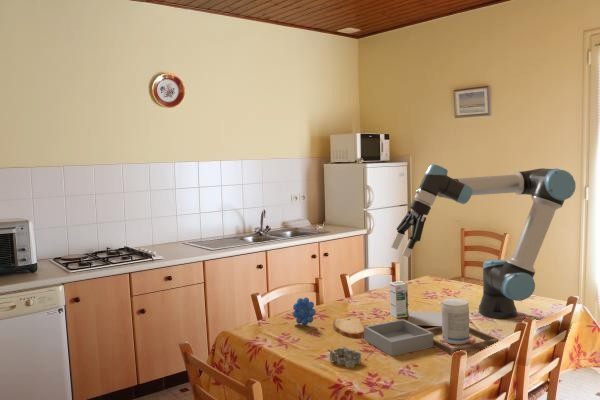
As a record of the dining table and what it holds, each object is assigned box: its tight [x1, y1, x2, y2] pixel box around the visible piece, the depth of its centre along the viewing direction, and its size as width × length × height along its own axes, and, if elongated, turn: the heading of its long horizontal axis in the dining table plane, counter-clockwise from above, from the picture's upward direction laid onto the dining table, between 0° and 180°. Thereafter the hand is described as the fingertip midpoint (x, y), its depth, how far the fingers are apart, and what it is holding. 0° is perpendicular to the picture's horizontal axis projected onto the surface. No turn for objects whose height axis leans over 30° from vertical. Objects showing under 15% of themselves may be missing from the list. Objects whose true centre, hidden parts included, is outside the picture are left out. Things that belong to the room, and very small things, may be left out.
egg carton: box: [327, 346, 363, 368], centre depth 173 cm, size 11×8×4 cm
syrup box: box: [389, 280, 409, 319], centre depth 219 cm, size 6×6×14 cm
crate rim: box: [424, 325, 499, 356], centre depth 189 cm, size 21×21×2 cm
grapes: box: [292, 297, 316, 326], centre depth 211 cm, size 12×7×12 cm, turn 51°
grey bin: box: [363, 318, 434, 357], centre depth 188 cm, size 18×18×5 cm
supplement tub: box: [441, 298, 470, 345], centre depth 189 cm, size 10×10×15 cm
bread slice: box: [332, 315, 365, 339], centre depth 205 cm, size 18×18×4 cm
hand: (399, 252), depth 200 cm, fingers open, 13 cm apart
